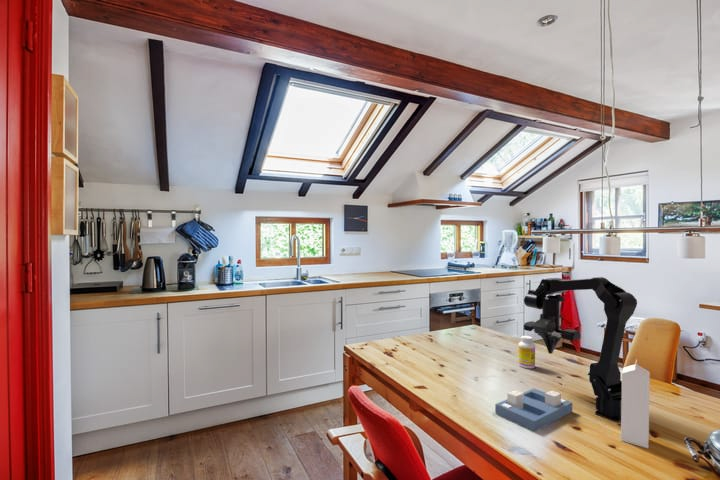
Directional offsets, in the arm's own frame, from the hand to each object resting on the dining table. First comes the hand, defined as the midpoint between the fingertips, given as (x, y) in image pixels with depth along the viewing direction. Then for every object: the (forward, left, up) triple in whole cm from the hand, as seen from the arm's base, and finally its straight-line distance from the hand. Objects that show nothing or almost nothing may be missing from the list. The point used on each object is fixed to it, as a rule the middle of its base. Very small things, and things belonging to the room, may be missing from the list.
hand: (550, 353), depth 136 cm
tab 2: (-11, +18, -12) cm, 24 cm away
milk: (-32, +15, -13) cm, 38 cm away
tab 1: (-4, +28, -12) cm, 31 cm away
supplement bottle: (+18, -14, -13) cm, 26 cm away
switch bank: (-7, +23, -13) cm, 28 cm away
